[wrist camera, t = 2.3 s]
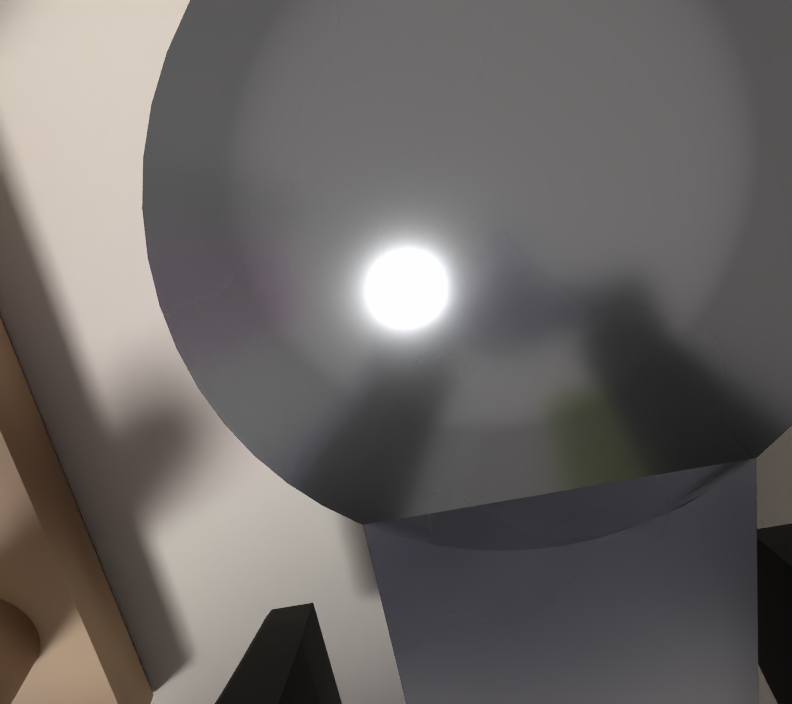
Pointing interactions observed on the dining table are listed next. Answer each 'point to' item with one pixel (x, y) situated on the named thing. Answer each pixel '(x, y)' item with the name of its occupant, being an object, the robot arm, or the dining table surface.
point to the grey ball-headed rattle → (499, 313)
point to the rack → (52, 574)
